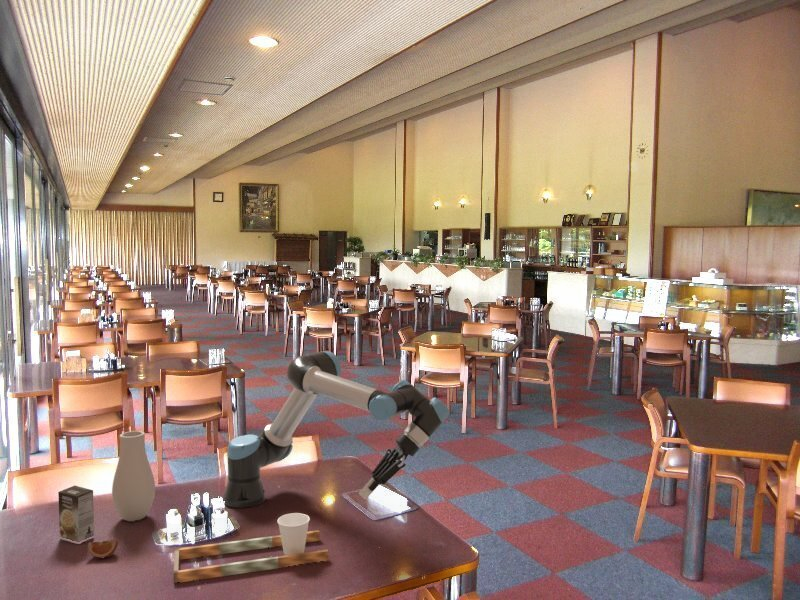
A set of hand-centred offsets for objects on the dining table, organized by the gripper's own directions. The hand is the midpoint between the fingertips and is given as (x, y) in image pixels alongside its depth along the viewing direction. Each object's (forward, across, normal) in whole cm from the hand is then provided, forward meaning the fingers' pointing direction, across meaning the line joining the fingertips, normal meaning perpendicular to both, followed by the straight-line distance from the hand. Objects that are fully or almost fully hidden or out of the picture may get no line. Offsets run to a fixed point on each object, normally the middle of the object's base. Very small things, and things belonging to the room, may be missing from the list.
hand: (362, 496), depth 205 cm
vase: (+61, +43, +39) cm, 84 cm away
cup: (+27, 0, +4) cm, 27 cm away
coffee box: (+72, +32, +51) cm, 94 cm away
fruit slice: (+66, +16, +44) cm, 81 cm away
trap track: (+35, 0, +14) cm, 38 cm away
